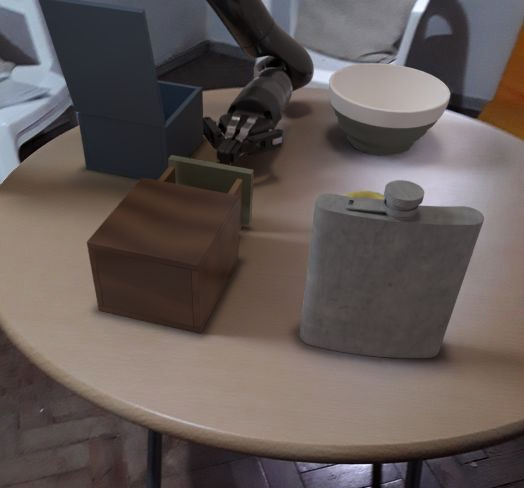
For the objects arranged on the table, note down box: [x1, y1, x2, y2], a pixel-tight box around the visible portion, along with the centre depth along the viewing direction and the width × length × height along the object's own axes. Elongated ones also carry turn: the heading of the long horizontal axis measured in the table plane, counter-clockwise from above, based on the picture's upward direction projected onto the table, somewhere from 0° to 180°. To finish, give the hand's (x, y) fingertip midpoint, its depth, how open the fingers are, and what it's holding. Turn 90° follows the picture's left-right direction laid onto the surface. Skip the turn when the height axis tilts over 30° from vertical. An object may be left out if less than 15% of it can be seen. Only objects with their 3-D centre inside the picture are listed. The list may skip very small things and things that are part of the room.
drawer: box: [158, 155, 255, 233], centre depth 81 cm, size 15×11×8 cm
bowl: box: [328, 62, 451, 156], centre depth 105 cm, size 20×20×10 cm
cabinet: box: [86, 178, 240, 334], centre depth 74 cm, size 15×13×10 cm
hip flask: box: [298, 179, 485, 359], centre depth 64 cm, size 16×4×20 cm, turn 84°
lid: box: [38, 0, 166, 127], centre depth 82 cm, size 16×14×1 cm
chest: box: [76, 79, 204, 180], centre depth 98 cm, size 16×14×9 cm
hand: (224, 158), depth 87 cm, fingers closed
